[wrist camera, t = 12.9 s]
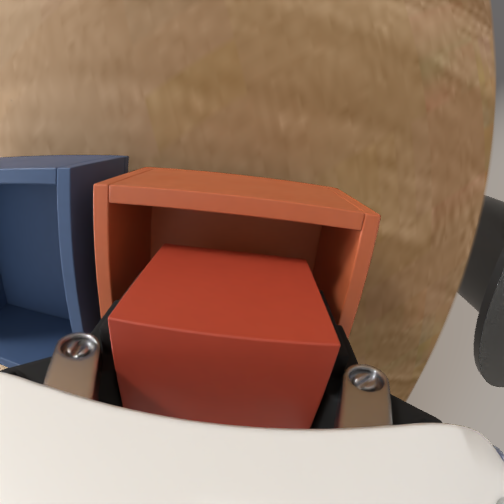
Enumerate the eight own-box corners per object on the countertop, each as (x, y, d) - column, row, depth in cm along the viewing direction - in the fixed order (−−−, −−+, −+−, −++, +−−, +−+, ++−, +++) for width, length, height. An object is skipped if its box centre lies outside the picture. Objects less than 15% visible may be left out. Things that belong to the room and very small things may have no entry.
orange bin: (337, 188, 14) (382, 215, 9) (303, 347, 18) (319, 418, 12) (145, 166, 14) (92, 183, 9) (145, 330, 17) (114, 395, 12)
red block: (306, 258, 11) (341, 344, 6) (283, 368, 13) (294, 466, 8) (163, 242, 11) (106, 317, 6) (165, 355, 12) (133, 448, 8)
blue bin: (129, 155, 14) (70, 167, 9) (131, 334, 17) (99, 398, 12) (-10, 158, 13) (-74, 173, 8) (7, 305, 17) (-38, 347, 12)
